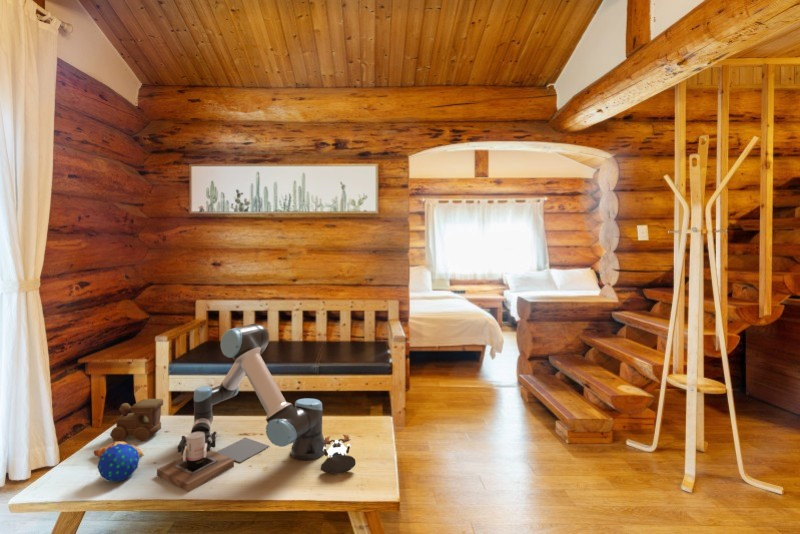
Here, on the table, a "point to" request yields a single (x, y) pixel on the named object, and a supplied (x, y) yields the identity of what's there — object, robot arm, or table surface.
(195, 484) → the socket stand
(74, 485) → the table surface
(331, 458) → the figurine
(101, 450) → the croissant
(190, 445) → the beverage can
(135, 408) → the wooden toy train
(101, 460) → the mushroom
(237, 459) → the rubber mat
